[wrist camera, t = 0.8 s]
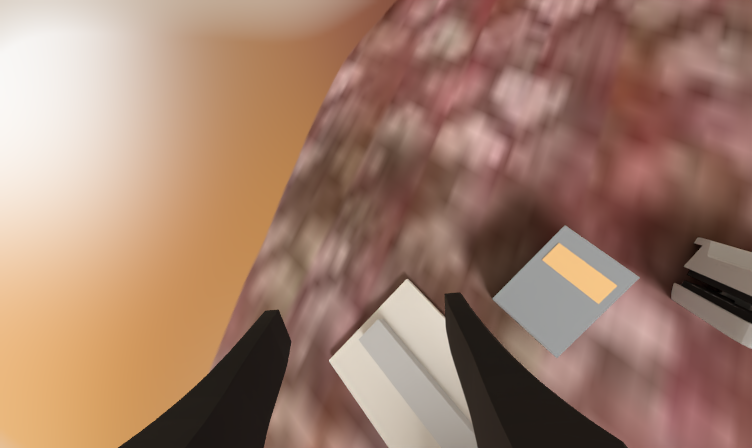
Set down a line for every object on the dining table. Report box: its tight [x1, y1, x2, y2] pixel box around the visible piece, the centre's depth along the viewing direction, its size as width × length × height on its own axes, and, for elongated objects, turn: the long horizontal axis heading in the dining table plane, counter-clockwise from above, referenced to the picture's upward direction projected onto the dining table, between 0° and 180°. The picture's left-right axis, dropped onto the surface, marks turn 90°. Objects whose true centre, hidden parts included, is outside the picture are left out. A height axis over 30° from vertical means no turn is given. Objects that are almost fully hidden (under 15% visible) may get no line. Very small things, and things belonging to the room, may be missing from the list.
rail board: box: [329, 279, 478, 448], centre depth 25 cm, size 14×11×2 cm
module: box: [492, 226, 640, 358], centre depth 22 cm, size 5×7×6 cm
